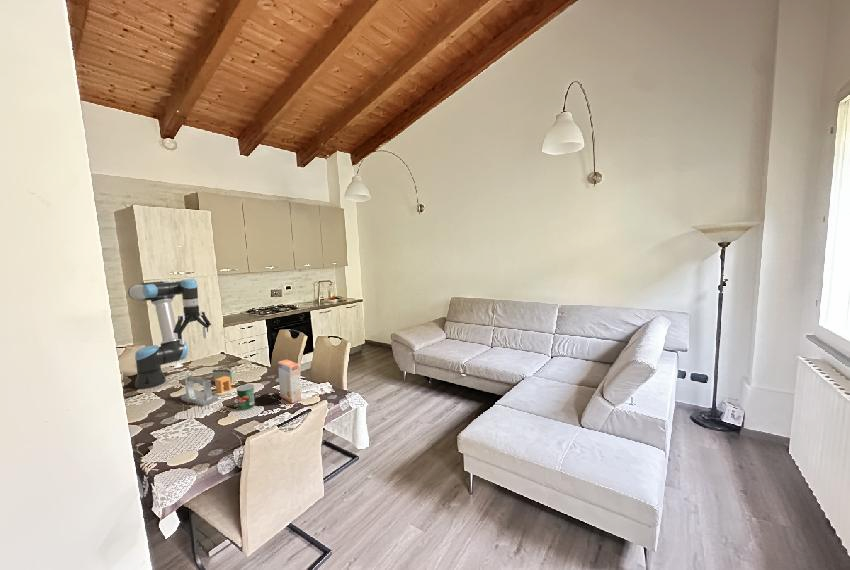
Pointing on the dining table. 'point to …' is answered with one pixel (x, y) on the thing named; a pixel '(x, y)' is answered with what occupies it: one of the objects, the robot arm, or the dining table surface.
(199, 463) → the dining table surface
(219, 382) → the orange notched sleeve
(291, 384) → the cracker box
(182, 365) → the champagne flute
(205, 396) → the rail stand
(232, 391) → the pad
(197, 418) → the dining table surface
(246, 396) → the canned tomato
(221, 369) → the food container
